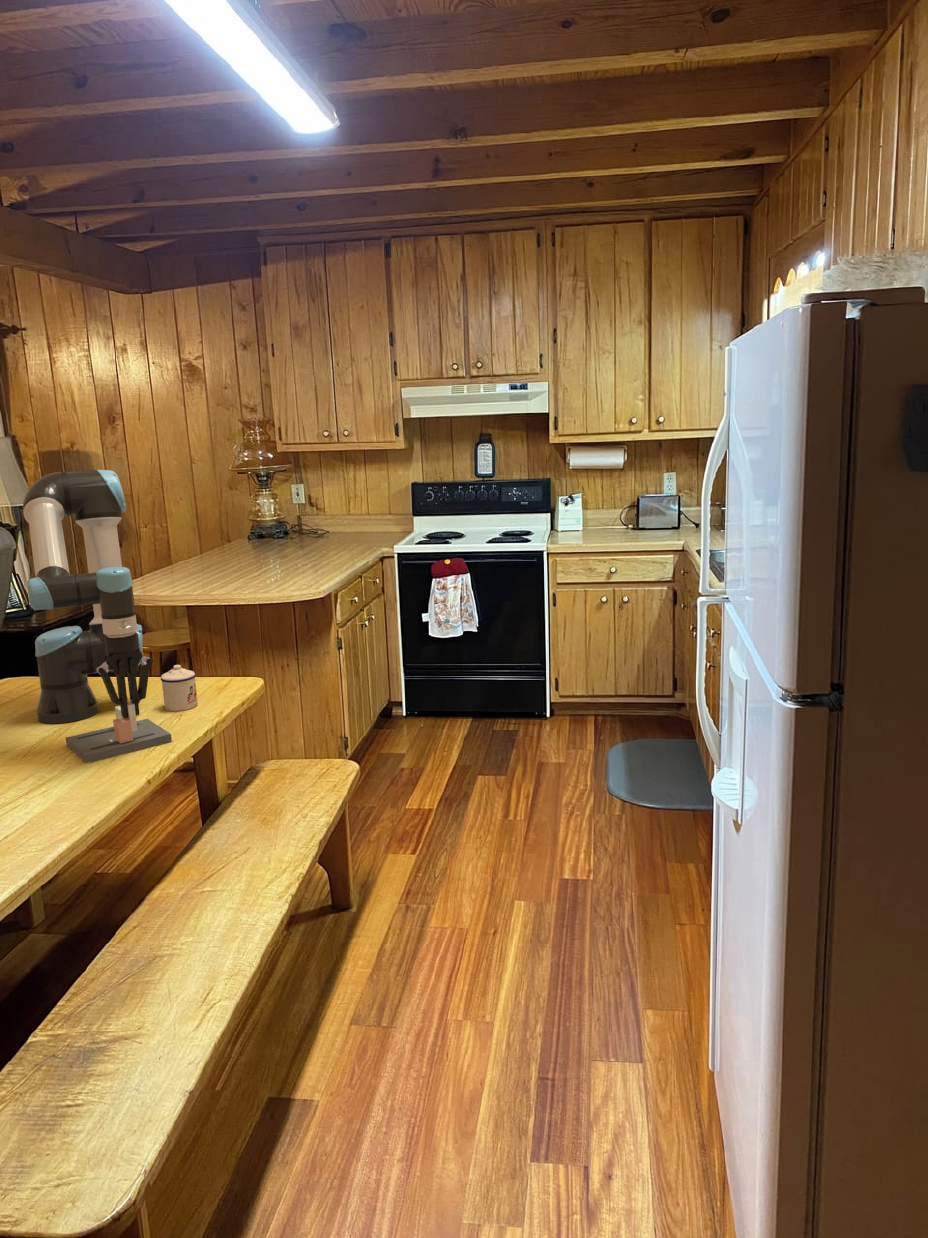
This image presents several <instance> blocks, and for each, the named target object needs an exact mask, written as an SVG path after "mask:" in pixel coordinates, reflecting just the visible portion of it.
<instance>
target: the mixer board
mask: <svg viewBox="0 0 928 1238" xmlns="http://www.w3.org/2000/svg"><path fill="white" fill-rule="evenodd" d="M136 721H137V731H133V732H132V736H133V741H128V742H124V743H119V742H118V741H116V740H115V733H114V725H113V726H110V727H105V728H100V729H97V730H92V731H88V732H84V733H80V734H76V735H71V736H67V737H65V743H66V747H68V748H69V749H70V750H71V751H72V752H73V753H75V754H76V755H77V756H78V757H79V758H80V759H81V760H82V761H83V762H85V763H86V764H89V763H93V762H98V761H101V760H105V759H110V758H112V757H117V756H121V755H125V754H129V753H133V752H137V751H142V750H145V749H149V748H152V747H156V746H161V745H165V744H169V743H172V741H173V740H172V733H170V732H169V731H167V730H166V729H164V728H162V727H161V726H159V725H158V724H156V723H155V722H154V721H152V720H150V719H149V718H144V719H140V720H136Z"/></svg>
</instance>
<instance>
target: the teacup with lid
mask: <svg viewBox="0 0 928 1238" xmlns="http://www.w3.org/2000/svg"><path fill="white" fill-rule="evenodd" d="M196 675H197V674H196V673H195V671H194V670H189V669H186V668H183V667H182V666H181V664H174V665H173V667H172V668H171V669H170V670H168V671H167V672H165V673H163V674H162V675H161V676H160V681H161V685H162V693H163V695H162V696H163V704H164V709H165V710H166V711H170V712H183V710H184V711H187V710H191V709H194V708H196V707H197V706H198V695H197V685H196Z"/></svg>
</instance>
